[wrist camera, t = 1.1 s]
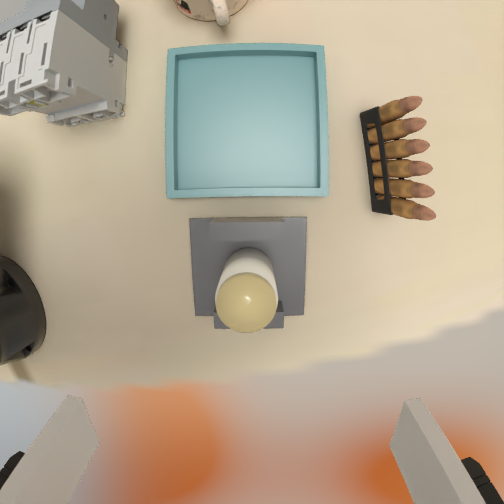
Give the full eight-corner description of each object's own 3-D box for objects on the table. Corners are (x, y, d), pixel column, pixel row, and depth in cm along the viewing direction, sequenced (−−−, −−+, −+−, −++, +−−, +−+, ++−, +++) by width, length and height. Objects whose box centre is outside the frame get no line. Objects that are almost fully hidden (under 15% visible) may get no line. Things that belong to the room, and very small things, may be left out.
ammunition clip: (359, 113, 31) (408, 86, 19) (375, 112, 31) (429, 87, 19) (372, 211, 33) (425, 230, 21) (387, 209, 33) (445, 227, 21)
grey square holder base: (196, 314, 36) (190, 328, 32) (190, 218, 33) (183, 223, 30) (303, 313, 36) (307, 327, 32) (306, 216, 33) (311, 221, 30)
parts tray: (172, 196, 33) (166, 198, 30) (173, 56, 29) (167, 49, 27) (323, 194, 33) (328, 196, 30) (319, 53, 29) (323, 45, 27)
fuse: (225, 291, 35) (215, 334, 25) (223, 245, 34) (211, 274, 24) (272, 291, 35) (278, 334, 25) (272, 245, 33) (279, 273, 24)
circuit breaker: (131, 8, 28) (77, -57, 13) (125, 116, 31) (47, 85, 16) (78, 23, 28) (10, -25, 13) (68, 126, 31) (-20, 111, 16)
